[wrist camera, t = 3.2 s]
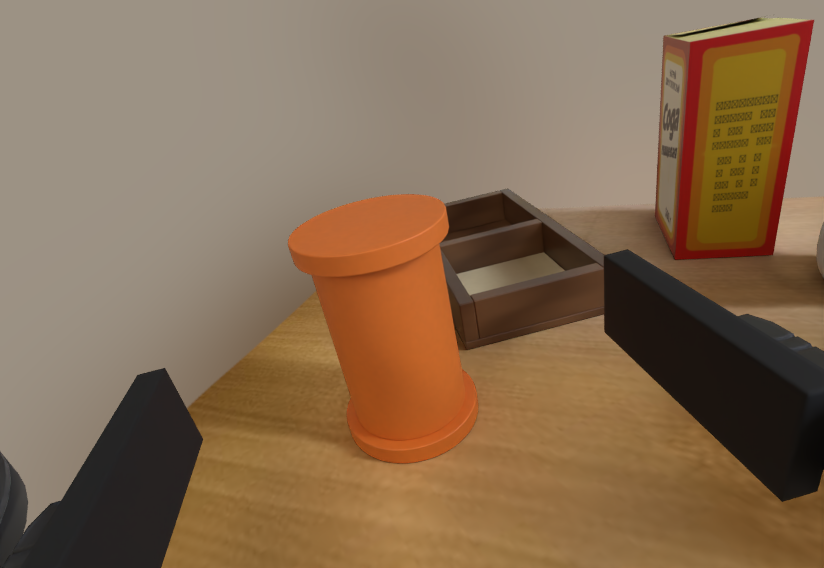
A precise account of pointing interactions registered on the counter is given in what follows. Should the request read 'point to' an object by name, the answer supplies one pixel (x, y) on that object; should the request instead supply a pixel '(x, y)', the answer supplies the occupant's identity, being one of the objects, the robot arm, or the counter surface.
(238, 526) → the counter surface
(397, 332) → the spool
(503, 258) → the divided tray
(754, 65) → the baking soda box
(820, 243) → the cup
